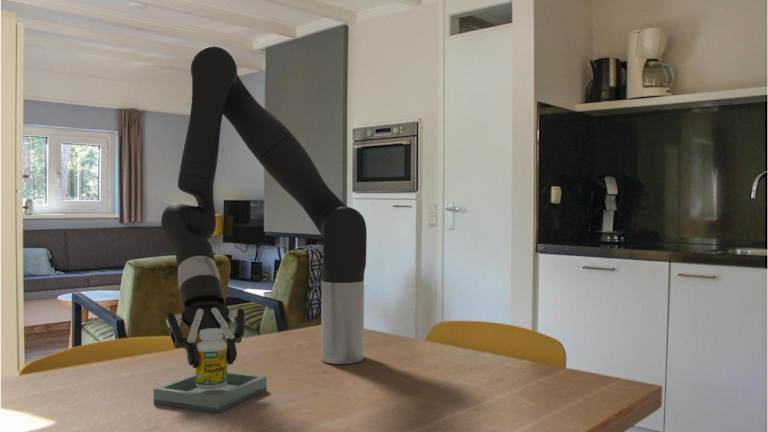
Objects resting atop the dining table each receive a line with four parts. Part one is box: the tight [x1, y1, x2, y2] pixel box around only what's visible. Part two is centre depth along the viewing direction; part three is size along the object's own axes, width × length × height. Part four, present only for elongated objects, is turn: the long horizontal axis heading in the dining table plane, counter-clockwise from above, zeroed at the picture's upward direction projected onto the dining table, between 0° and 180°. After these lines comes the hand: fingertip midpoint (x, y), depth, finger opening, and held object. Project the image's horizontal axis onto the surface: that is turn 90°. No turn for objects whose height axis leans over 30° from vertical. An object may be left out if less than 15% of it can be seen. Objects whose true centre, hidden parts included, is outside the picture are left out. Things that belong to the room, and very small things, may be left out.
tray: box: [153, 371, 268, 414], centre depth 108 cm, size 14×13×2 cm
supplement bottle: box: [195, 328, 228, 389], centre depth 108 cm, size 5×5×10 cm
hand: (214, 363), depth 106 cm, fingers closed on supplement bottle, 5 cm apart
